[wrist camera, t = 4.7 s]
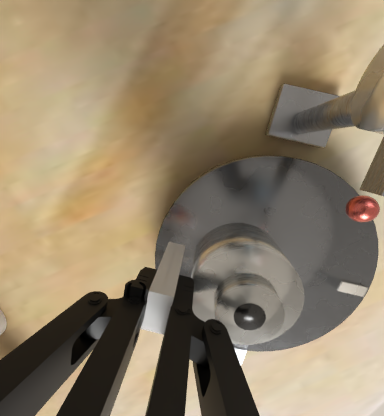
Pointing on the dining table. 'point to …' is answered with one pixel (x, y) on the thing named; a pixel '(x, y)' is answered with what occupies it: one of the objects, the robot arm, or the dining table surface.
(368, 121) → the indicator
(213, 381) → the robot arm
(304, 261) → the turntable
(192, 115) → the dining table surface
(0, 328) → the cup
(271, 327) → the cover
